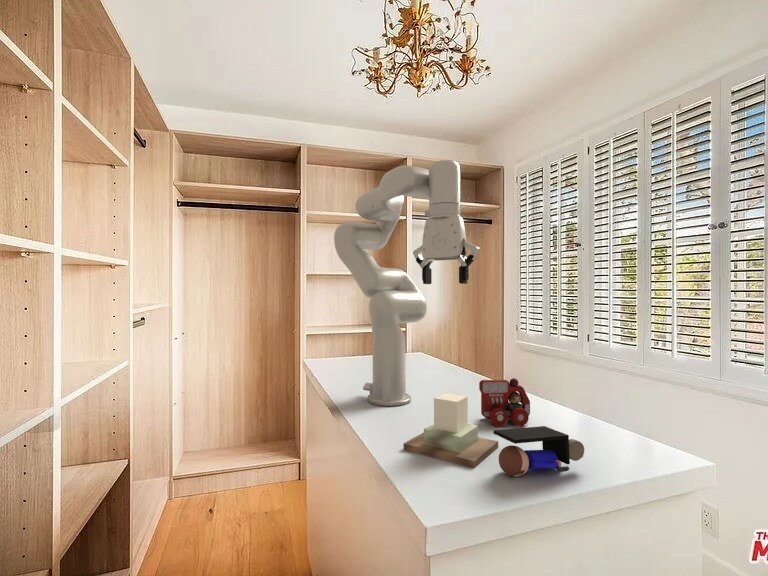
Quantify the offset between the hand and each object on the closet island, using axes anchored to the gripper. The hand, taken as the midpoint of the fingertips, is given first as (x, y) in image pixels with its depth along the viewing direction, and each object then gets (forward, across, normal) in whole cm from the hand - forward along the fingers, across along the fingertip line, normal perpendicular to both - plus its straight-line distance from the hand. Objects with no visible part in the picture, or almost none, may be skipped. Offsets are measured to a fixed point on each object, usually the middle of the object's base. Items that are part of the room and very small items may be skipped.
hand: (444, 283), depth 102 cm
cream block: (+29, +9, -15) cm, 34 cm away
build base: (+33, +9, -15) cm, 38 cm away
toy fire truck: (+34, +12, +8) cm, 37 cm away
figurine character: (+34, +26, -15) cm, 45 cm away
